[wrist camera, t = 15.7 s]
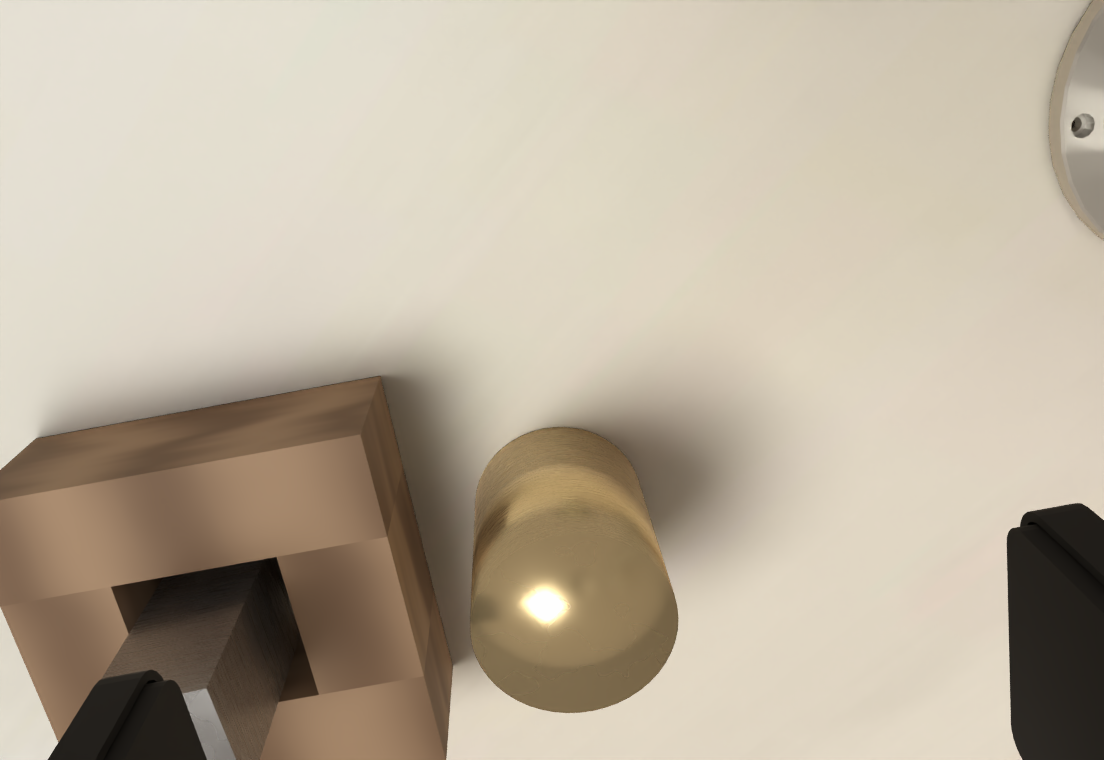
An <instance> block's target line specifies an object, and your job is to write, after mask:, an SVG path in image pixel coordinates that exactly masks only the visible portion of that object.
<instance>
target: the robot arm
mask: <svg viewBox="0 0 1104 760" xmlns="http://www.w3.org/2000/svg"><path fill="white" fill-rule="evenodd" d="M1074 119H1075V125H1074V127H1073V128H1072V129H1071V125H1072V121H1073V120H1074ZM1048 136H1049V143H1050V150H1051V156H1052V163H1053V168H1054V171H1055V173H1056V176H1057V179H1058V182H1059V184H1060V187H1061V190H1062V193H1063V195H1064V196H1065V198H1066V199H1067V201H1068V203H1069V204H1070V206H1071V207H1072V209H1073V210H1074V212H1075V213H1076V215H1077V217H1078V218H1079V219H1080V220H1081V221H1082V222H1083V223H1084V224H1085V225H1086V226H1087V227H1088V228H1089V229H1090V230H1091V231H1092V232H1093V233H1095V234H1096V235H1097V236H1098V237H1099V238H1101V239H1102V240H1104V0H1093V2H1092V3H1091V4H1090V6H1089V7H1088V9H1087V11H1086V12H1085V14H1084V15H1083V17H1082V19H1081V20H1080V22H1079V24H1078V25H1077V27H1076V29H1075V30H1074V32H1073V34H1072V35H1071V37H1070V40H1069V42H1068V45H1067V47H1066V50H1065V52H1064V55H1063V57H1062V60H1061V62H1060V64H1059V67H1058V70H1057V74H1056V78H1055V83H1054V87H1053V92H1052V96H1051V101H1050V114H1049V135H1048ZM1007 570H1008V613H1009V656H1010V699H1011V727H1012V733H1013V738H1014V741H1015V744H1016V747H1017V749H1018V751H1019V754H1020V756H1021V757H1022V759H1023V760H1104V520H1103V519H1101V518H1100V517H1099V516H1098V515H1097V514H1095V513H1094V512H1093V511H1092V510H1091V509H1089V508H1088V507H1086V506H1085V505H1083V504H1080V503H1075V504H1069V505H1064V506H1058V507H1053V508H1047V509H1042V510H1036V511H1030V512H1027V513H1026V514H1024V515H1023V517H1022V520H1021V524H1020V527H1017V528H1012V529H1011V530H1010V531H1009V533H1008V536H1007ZM48 760H207V758H206V756H205V753H204V750H203V748H202V745H201V742H200V740H199V737H198V734H197V732H196V729H195V726H194V724H193V721H192V718H191V716H190V713H189V710H188V708H187V705H186V702H185V700H184V697H183V694H182V692H181V689H180V687H179V685H178V684H177V683H176V682H175V681H174V680H165V681H164V680H163V678H162V676H161V675H160V674H159V673H158V672H157V671H154V670H147V671H141V672H135V673H130V674H124V675H119V676H113V677H108V678H104V679H101V680H99V681H98V682H97V683H96V684H95V685H94V687H93V688H92V690H91V692H90V693H89V695H88V696H87V698H86V700H85V701H84V703H83V704H82V706H81V708H80V709H79V711H78V712H77V714H76V716H75V717H74V719H73V720H72V722H71V724H70V725H69V727H68V728H67V730H66V731H65V733H64V735H63V736H62V738H61V739H60V741H59V743H58V744H57V746H56V747H55V749H54V751H53V752H52V754H51V755H50V757H49V759H48Z"/></svg>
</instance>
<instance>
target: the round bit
mask: <svg viewBox="0 0 1104 760" xmlns="http://www.w3.org/2000/svg"><path fill="white" fill-rule="evenodd" d="M677 631H678V610H677V604H676V600H675V596H674V593H673V589H672V586H671V583H670V580H669V577H668V573H667V570H666V567H665V564H664V561H663V558H662V554H661V551H660V548H659V545H658V542H657V538H656V535H655V532H654V529H653V526H652V523H651V519H650V516H649V513H648V510H647V507H646V503H645V500H644V497H643V494H642V491H641V488H640V484H639V481H638V478H637V476H636V473H635V471H634V469H633V467H632V465H631V464H630V462H629V460H628V459H627V458H626V457H625V456H624V454H623V453H622V452H621V451H620V450H619V449H618V448H617V447H616V446H614V445H613V444H612V443H610V442H609V441H607V440H606V439H604V438H602V437H600V436H598V435H596V434H593V433H591V432H588V431H585V430H580V429H576V428H567V427H553V428H546V429H541V430H537V431H533V432H530V433H528V434H525V435H522V436H520V437H519V438H517V439H515V440H513V441H511V442H510V443H509V444H507V445H506V446H505V447H503V448H502V449H501V450H500V451H499V452H498V453H497V454H496V455H495V456H494V457H493V458H492V460H491V461H490V462H489V463H488V465H487V467H486V468H485V470H484V471H483V474H482V476H481V478H480V480H479V484H478V487H477V491H476V499H475V521H474V545H473V569H472V593H471V616H470V635H471V641H472V646H473V649H474V652H475V655H476V658H477V660H478V662H479V664H480V666H481V668H482V669H483V671H484V672H485V673H486V675H487V676H488V677H489V679H490V680H491V681H492V682H493V683H494V684H495V685H496V686H497V687H498V688H500V689H501V690H502V691H503V692H505V693H506V694H507V695H509V696H511V697H512V698H514V699H516V700H517V701H520V702H522V703H524V704H526V705H529V706H532V707H535V708H538V709H541V710H547V711H552V712H562V713H579V712H587V711H594V710H598V709H602V708H606V707H608V706H611V705H614V704H616V703H619V702H621V701H623V700H625V699H627V698H629V697H630V696H632V695H633V694H635V693H637V692H638V691H640V690H641V689H642V688H643V687H644V686H646V685H647V684H648V683H649V682H650V681H651V680H652V679H653V678H654V677H655V676H656V675H657V674H658V673H659V671H660V670H661V669H662V667H663V666H664V664H665V663H666V661H667V659H668V657H669V656H670V654H671V651H672V649H673V646H674V643H675V640H676V635H677Z"/></svg>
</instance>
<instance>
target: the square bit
mask: <svg viewBox="0 0 1104 760" xmlns="http://www.w3.org/2000/svg"><path fill="white" fill-rule="evenodd" d="M299 638H300V631H299V628H298V625H297V622H296V619H295V615H294V612H293V609H292V606H291V602H290V599H289V596H288V593H287V589H286V586H285V583H284V580H283V577H282V573H281V570H280V567H279V564H278V560H277V557H273V558H267V559H262V560H256V561H251V562H245V563H240V564H234V565H229V566H223V567H218V568H212V569H206V570H201V571H195V572H190V573H184V574H179V575H173V576H168V577H163V579H162V581H161V582H160V584H159V585H158V587H157V589H156V590H155V592H154V594H153V595H152V597H151V599H150V600H149V602H148V603H147V605H146V607H145V608H144V610H143V612H142V613H141V615H140V617H139V618H138V620H137V621H136V623H135V625H134V626H133V628H132V630H131V631H130V633H129V635H128V636H127V638H126V639H125V641H124V643H123V644H122V646H121V648H120V649H119V651H118V653H117V654H116V656H115V657H114V659H113V661H112V662H111V664H110V666H109V667H108V669H107V671H106V672H105V674H104V675H103V677H102V679H104V678H108V677H113V676H119V675H124V674H130V673H135V672H141V671H147V670H154V671H157V672H158V673H159V674H160V675H161V676H162V678H163V680H164V681H165V680H174V681H175V682H176V683H177V684H178V685H179V687H180V689H181V692H182V694H183V697H184V700H185V702H186V705H187V708H188V710H189V713H190V716H191V718H192V721H193V724H194V726H195V729H196V732H197V734H198V737H199V740H200V742H201V745H202V748H203V750H204V753H205V756H206V758H207V760H260V757H261V754H262V751H263V748H264V745H265V742H266V739H267V736H268V733H269V730H270V727H271V723H272V720H273V717H274V714H275V711H276V708H277V705H278V702H279V699H280V696H281V693H282V690H283V687H284V684H285V681H286V678H287V675H288V672H289V668H290V665H291V662H292V659H293V656H294V653H295V650H296V647H297V644H298V641H299Z"/></svg>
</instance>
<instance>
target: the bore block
mask: <svg viewBox="0 0 1104 760" xmlns="http://www.w3.org/2000/svg"><path fill="white" fill-rule="evenodd" d="M273 557H277V560H278V564H279V567H280V570H281V573H282V577H283V580H284V583H285V586H286V589H287V593H288V596H289V599H290V602H291V606H292V609H293V612H294V615H295V619H296V622H297V625H298V628H299V631H300V638H299V641H298V644H297V647H296V650H295V653H294V656H293V659H292V662H291V665H290V668H289V672H288V675H287V678H286V681H285V684H284V687H283V690H282V693H281V696H280V699H279V702H278V705H277V708H276V711H275V714H274V717H273V720H272V723H271V727H270V730H269V733H268V736H267V739H266V742H265V745H264V748H263V751H262V754H261V757H260V760H446V755H447V741H448V727H449V713H450V699H451V685H452V671H453V665H452V661H451V657H450V653H449V649H448V645H447V641H446V637H445V633H444V629H443V625H442V621H441V617H440V613H439V609H438V605H437V601H436V597H435V593H434V589H433V585H432V581H431V577H430V573H429V569H428V565H427V561H426V557H425V553H424V549H423V545H422V541H421V537H420V533H419V529H418V525H417V521H416V517H415V513H414V509H413V505H412V501H411V497H410V493H409V489H408V485H407V481H406V477H405V473H404V469H403V465H402V461H401V457H400V453H399V449H398V445H397V441H396V437H395V433H394V429H393V425H392V421H391V417H390V413H389V409H388V405H387V401H386V397H385V393H384V389H383V385H382V381H381V377H380V376H377V377H372V378H366V379H361V380H355V381H350V382H344V383H339V384H333V385H328V386H322V387H317V388H311V389H306V390H300V391H295V392H289V393H284V394H278V395H273V396H267V397H262V398H256V399H251V400H245V401H240V402H234V403H229V404H223V405H218V406H212V407H207V408H201V409H196V410H191V411H185V412H180V413H174V414H169V415H163V416H158V417H152V418H147V419H141V420H136V421H130V422H125V423H119V424H114V425H108V426H103V427H97V428H92V429H86V430H81V431H75V432H70V433H64V434H59V435H53V436H48V437H42V438H37V439H35V440H34V441H33V442H31V443H30V444H29V445H28V446H27V447H26V448H25V449H24V450H22V451H21V452H20V453H19V454H18V455H17V456H16V457H15V458H13V459H12V460H11V461H10V462H9V463H8V464H7V465H6V466H4V467H3V468H2V469H1V470H0V607H1V609H2V611H3V614H4V616H5V618H6V621H7V623H8V625H9V628H10V630H11V632H12V635H13V637H14V639H15V642H16V644H17V646H18V649H19V651H20V653H21V656H22V658H23V660H24V663H25V665H26V667H27V670H28V672H29V674H30V677H31V679H32V681H33V684H34V686H35V688H36V691H37V693H38V695H39V698H40V700H41V702H42V705H43V707H44V709H45V712H46V714H47V716H48V719H49V721H50V723H51V726H52V728H53V730H54V733H55V735H56V737H57V740H58V742H59V741H60V739H61V738H62V736H63V735H64V733H65V731H66V730H67V728H68V727H69V725H70V724H71V722H72V720H73V719H74V717H75V716H76V714H77V712H78V711H79V709H80V708H81V706H82V704H83V703H84V701H85V700H86V698H87V696H88V695H89V693H90V692H91V690H92V688H93V687H94V685H95V684H96V683H97V682H98V681H99V680H101V679H102V677H103V675H104V674H105V672H106V671H107V669H108V667H109V666H110V664H111V662H112V661H113V659H114V657H115V656H116V654H117V653H118V651H119V649H120V648H121V646H122V644H123V643H124V641H125V639H126V638H127V636H128V635H129V633H130V631H131V630H132V628H133V626H134V625H135V623H136V621H137V620H138V618H139V617H140V615H141V613H142V612H143V610H144V608H145V607H146V605H147V603H148V602H149V600H150V599H151V597H152V595H153V594H154V592H155V590H156V589H157V587H158V585H159V584H160V582H161V581H162V579H163V577H168V576H173V575H179V574H184V573H190V572H195V571H201V570H206V569H212V568H218V567H223V566H229V565H234V564H240V563H245V562H251V561H256V560H262V559H267V558H273Z"/></svg>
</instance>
